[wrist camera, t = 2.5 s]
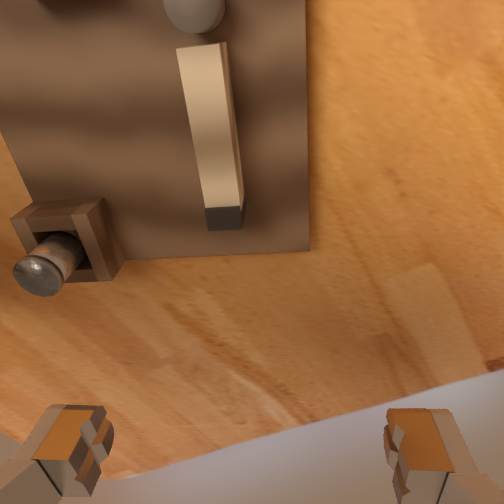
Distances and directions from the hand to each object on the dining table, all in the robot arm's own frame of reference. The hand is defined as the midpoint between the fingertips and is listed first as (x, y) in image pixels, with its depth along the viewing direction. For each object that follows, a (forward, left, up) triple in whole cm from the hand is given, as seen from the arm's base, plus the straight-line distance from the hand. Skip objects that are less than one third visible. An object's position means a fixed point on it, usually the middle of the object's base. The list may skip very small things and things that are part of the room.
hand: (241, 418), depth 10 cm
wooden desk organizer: (-5, -8, -21) cm, 23 cm away
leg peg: (+3, -16, -17) cm, 23 cm away
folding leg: (-5, -3, -19) cm, 20 cm away
